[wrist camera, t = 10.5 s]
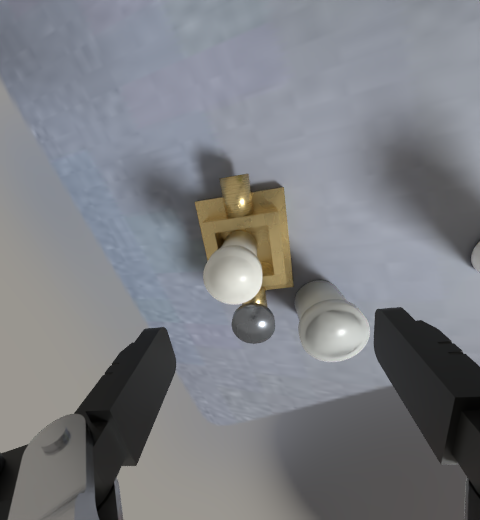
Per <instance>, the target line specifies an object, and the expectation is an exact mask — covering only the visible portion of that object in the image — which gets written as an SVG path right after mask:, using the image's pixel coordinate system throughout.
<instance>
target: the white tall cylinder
mask: <svg viewBox="0 0 480 520" xmlns="http://www.w3.org/2000/svg"><path fill="white" fill-rule="evenodd" d="M471 262H472V265H473V267H474V268H475V270H477V271H478V272H479V273H480V241H479V242H478V244H477V245H476V246H475V248H474V249H473V252H472V255H471Z"/></svg>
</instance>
